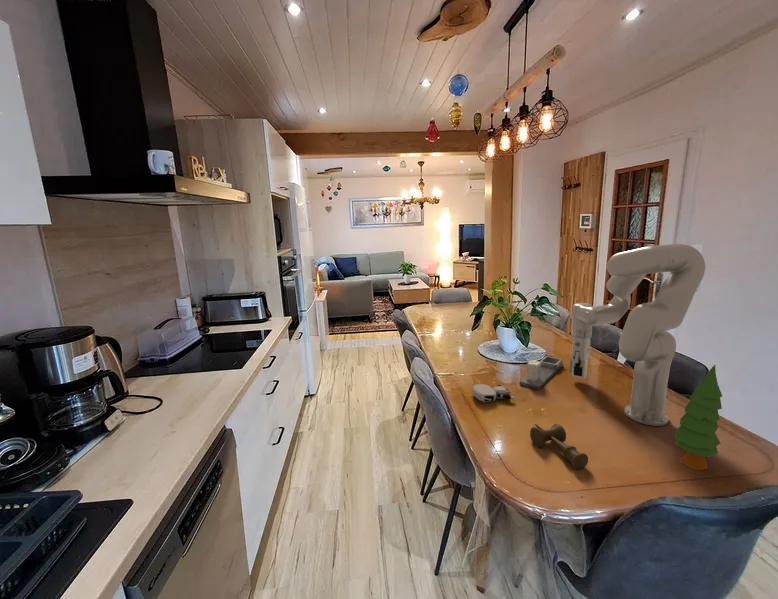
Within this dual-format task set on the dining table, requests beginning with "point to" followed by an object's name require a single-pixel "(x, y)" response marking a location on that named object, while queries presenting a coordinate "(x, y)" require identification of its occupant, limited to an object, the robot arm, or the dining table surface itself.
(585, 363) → the cream block teal pad
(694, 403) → the decorative tree
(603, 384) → the dining table surface
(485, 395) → the robot toy
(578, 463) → the kendama
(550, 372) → the rail
